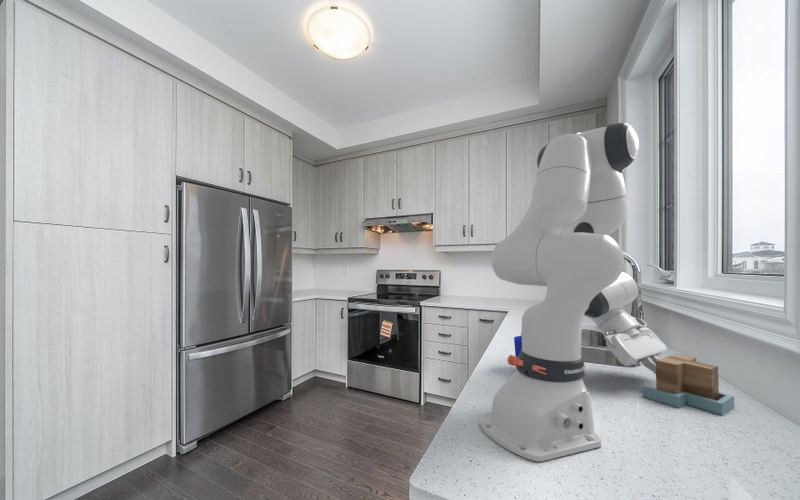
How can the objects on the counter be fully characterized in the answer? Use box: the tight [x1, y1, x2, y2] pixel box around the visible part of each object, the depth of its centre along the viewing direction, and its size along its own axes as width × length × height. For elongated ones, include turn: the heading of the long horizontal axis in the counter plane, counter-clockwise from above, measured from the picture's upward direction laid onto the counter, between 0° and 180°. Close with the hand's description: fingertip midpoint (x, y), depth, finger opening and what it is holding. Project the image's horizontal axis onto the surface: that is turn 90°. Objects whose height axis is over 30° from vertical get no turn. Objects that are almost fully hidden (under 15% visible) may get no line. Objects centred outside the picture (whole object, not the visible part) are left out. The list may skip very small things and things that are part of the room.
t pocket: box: [642, 385, 735, 416], centre depth 74 cm, size 16×13×2 cm
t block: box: [655, 353, 720, 401], centre depth 74 cm, size 12×9×9 cm
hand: (663, 374), depth 78 cm, fingers closed, pressing on t block
